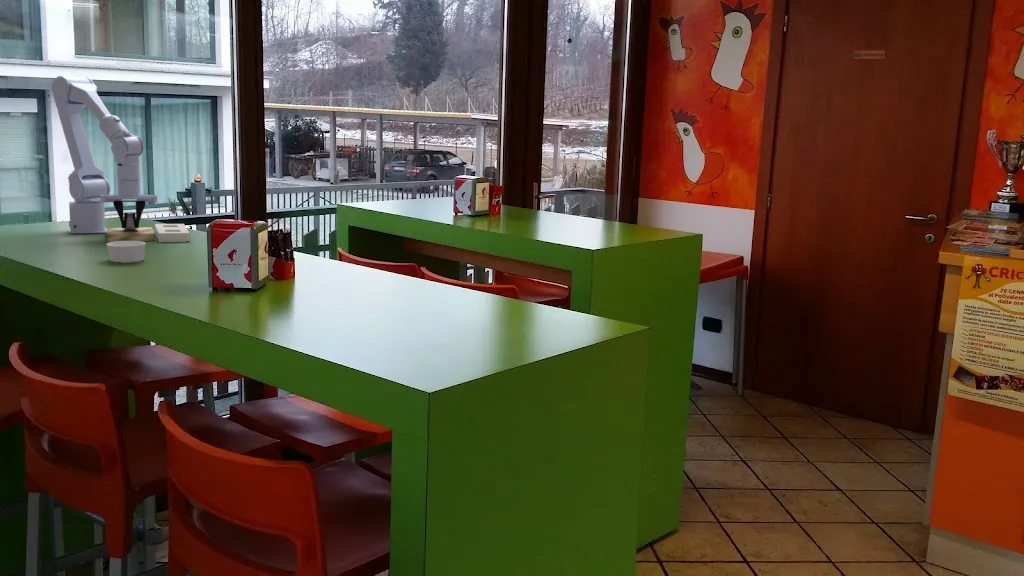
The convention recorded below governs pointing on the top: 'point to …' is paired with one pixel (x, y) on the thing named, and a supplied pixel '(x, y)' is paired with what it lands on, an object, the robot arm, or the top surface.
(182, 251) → the top surface
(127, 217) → the steel peg
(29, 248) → the top surface
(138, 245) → the ramekin
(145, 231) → the socket block
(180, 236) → the tool rack
